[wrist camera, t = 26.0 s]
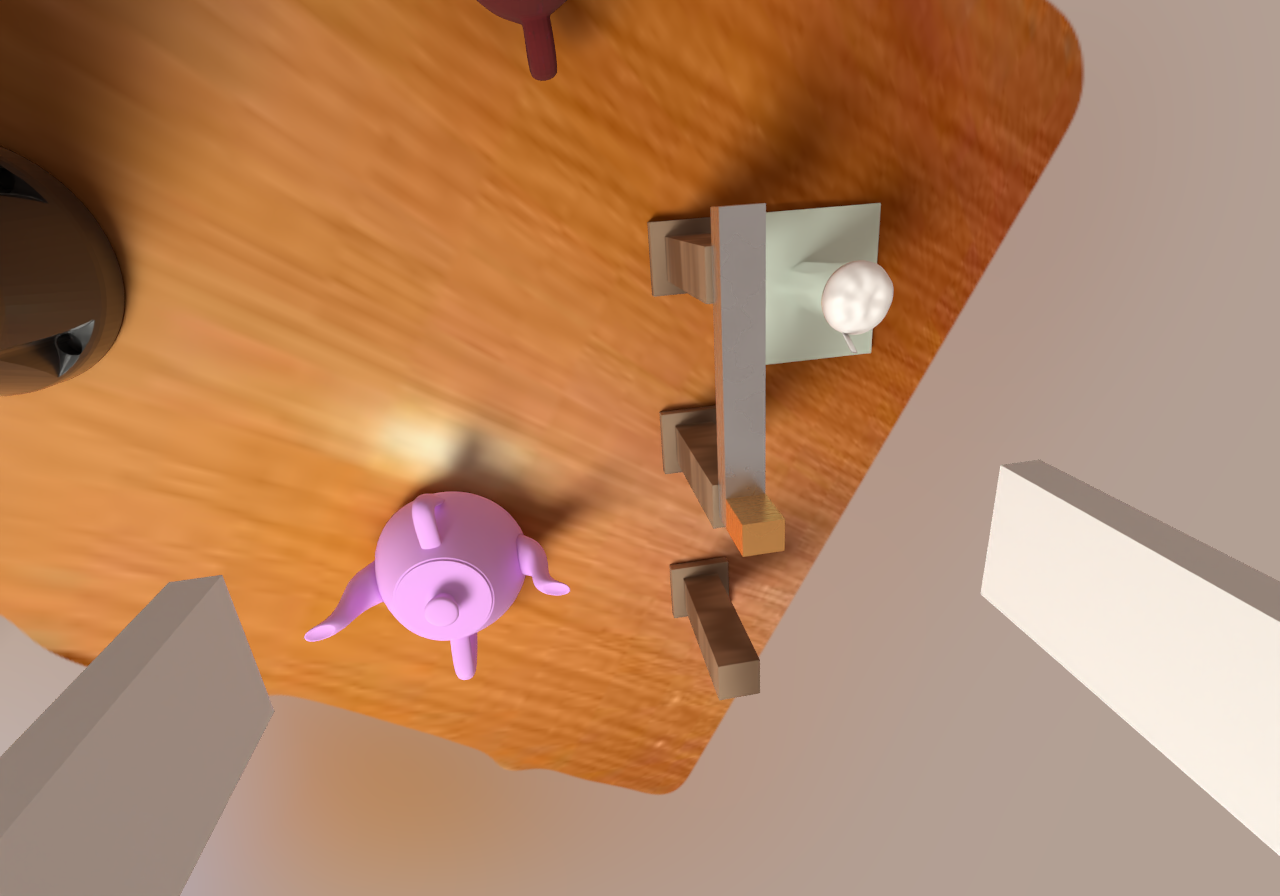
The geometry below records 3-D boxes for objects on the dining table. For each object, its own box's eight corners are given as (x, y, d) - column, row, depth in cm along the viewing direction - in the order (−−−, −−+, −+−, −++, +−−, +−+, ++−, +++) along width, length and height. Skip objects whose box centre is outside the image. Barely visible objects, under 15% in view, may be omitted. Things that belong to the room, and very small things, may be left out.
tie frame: (672, 612, 56) (706, 713, 45) (647, 222, 44) (685, 228, 33) (726, 604, 56) (773, 701, 45) (717, 216, 44) (777, 220, 33)
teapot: (566, 529, 51) (572, 591, 43) (462, 642, 54) (449, 721, 46) (445, 444, 47) (426, 495, 39) (338, 571, 50) (299, 643, 41)
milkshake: (764, 316, 47) (821, 344, 37) (789, 243, 45) (854, 254, 36) (818, 331, 48) (886, 361, 39) (844, 260, 46) (921, 274, 37)
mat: (733, 366, 48) (735, 368, 48) (730, 215, 44) (733, 215, 44) (867, 351, 50) (871, 352, 49) (876, 203, 46) (881, 203, 45)
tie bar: (719, 516, 39) (742, 557, 34) (710, 206, 32) (738, 207, 28) (756, 511, 39) (784, 550, 35) (755, 203, 32) (790, 203, 28)
